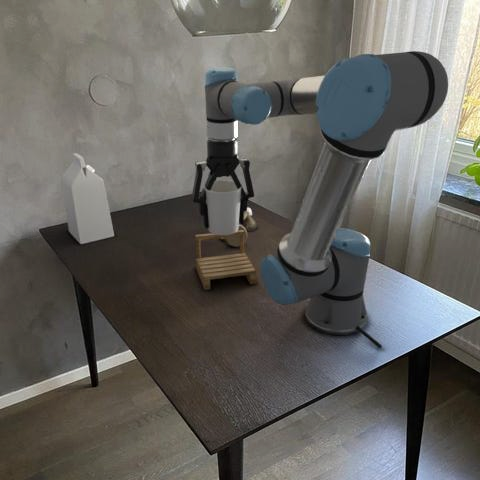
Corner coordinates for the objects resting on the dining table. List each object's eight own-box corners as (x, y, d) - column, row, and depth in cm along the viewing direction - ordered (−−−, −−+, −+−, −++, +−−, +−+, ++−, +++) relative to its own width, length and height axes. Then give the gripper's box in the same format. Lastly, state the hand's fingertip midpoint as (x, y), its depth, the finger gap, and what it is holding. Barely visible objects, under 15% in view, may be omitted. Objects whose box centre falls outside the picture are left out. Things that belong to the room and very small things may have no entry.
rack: (255, 283, 143) (256, 248, 137) (204, 290, 140) (203, 254, 134) (243, 262, 154) (244, 229, 148) (196, 268, 151) (194, 234, 145)
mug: (243, 234, 171) (251, 215, 163) (240, 257, 166) (248, 239, 158) (221, 229, 170) (228, 210, 161) (218, 252, 165) (225, 234, 157)
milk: (68, 231, 172) (53, 153, 158) (101, 224, 178) (89, 148, 163) (80, 244, 164) (65, 163, 150) (114, 236, 169) (102, 157, 155)
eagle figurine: (227, 220, 178) (237, 225, 170) (236, 201, 177) (246, 205, 169) (245, 228, 182) (255, 234, 174) (254, 210, 181) (264, 215, 173)
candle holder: (199, 233, 135) (197, 190, 128) (212, 220, 143) (211, 178, 136) (234, 239, 132) (234, 194, 126) (246, 224, 140) (246, 182, 134)
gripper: (260, 131, 130) (258, 215, 142) (175, 137, 125) (181, 222, 138) (269, 139, 124) (266, 225, 136) (180, 145, 119) (186, 234, 132)
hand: (223, 224), depth 137 cm, fingers closed on candle holder, 9 cm apart
